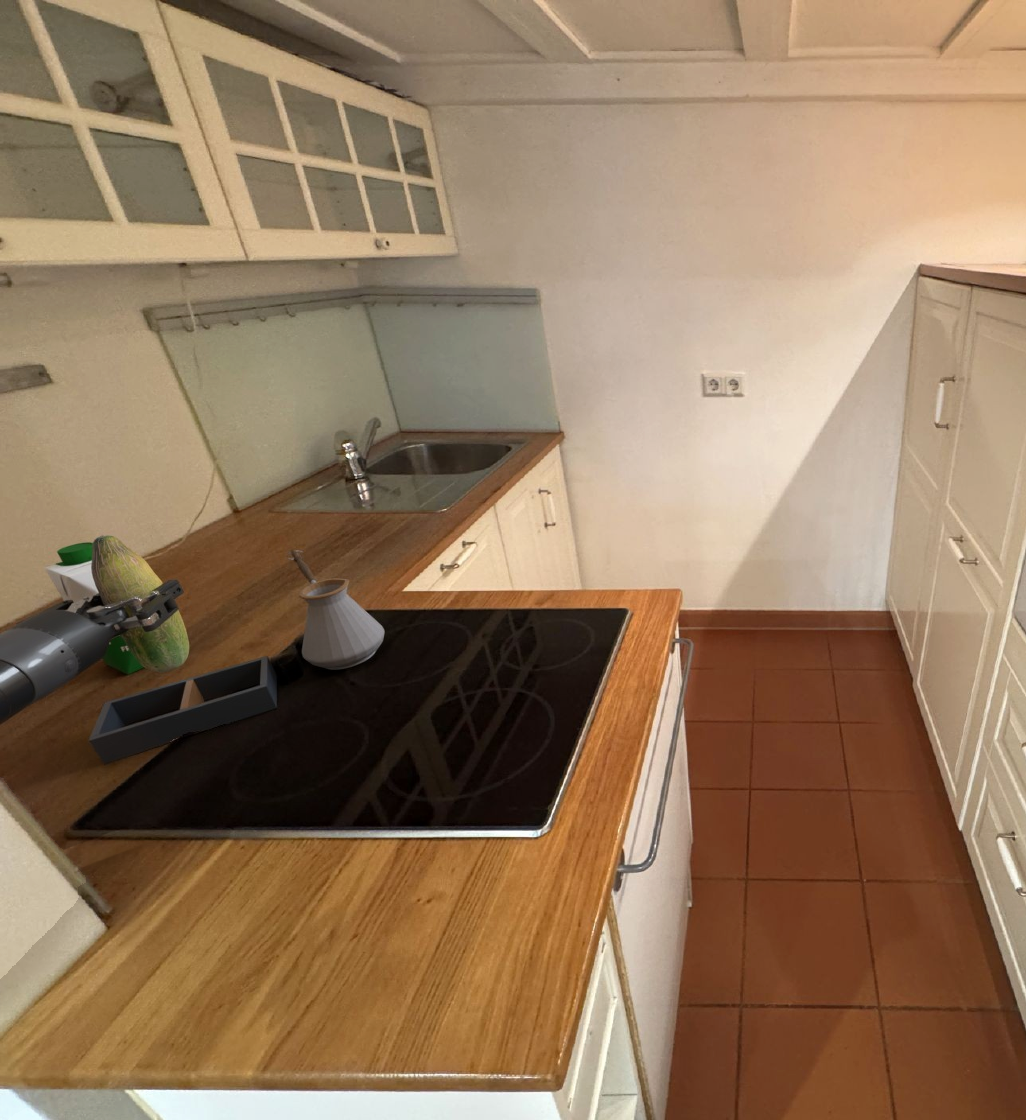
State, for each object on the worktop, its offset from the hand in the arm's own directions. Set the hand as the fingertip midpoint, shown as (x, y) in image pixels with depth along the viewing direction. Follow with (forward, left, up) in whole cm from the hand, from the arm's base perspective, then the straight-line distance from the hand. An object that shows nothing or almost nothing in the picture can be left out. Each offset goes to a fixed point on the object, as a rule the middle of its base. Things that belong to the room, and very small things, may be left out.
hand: (150, 588), depth 81 cm
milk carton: (-10, +23, -20) cm, 32 cm away
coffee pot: (+17, +7, -20) cm, 27 cm away
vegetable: (-1, -2, -12) cm, 12 cm away
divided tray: (-1, -2, -20) cm, 20 cm away
